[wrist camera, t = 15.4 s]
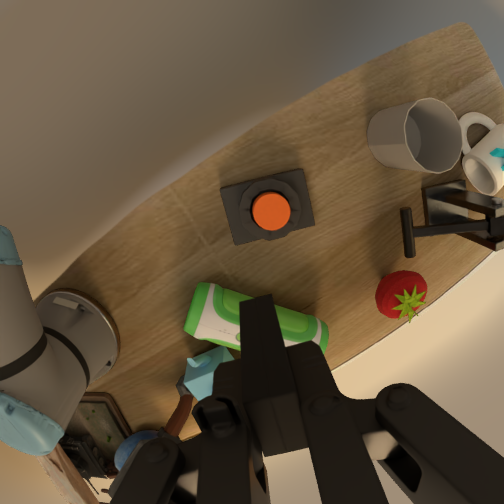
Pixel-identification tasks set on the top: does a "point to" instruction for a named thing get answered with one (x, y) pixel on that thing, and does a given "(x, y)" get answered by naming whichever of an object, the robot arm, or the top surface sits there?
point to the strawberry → (400, 294)
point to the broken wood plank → (66, 477)
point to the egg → (131, 446)
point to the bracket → (462, 209)
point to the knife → (161, 431)
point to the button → (271, 211)
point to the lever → (444, 229)
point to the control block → (245, 193)
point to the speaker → (228, 324)
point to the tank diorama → (95, 437)
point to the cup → (416, 136)
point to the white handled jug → (484, 155)
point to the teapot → (204, 371)
